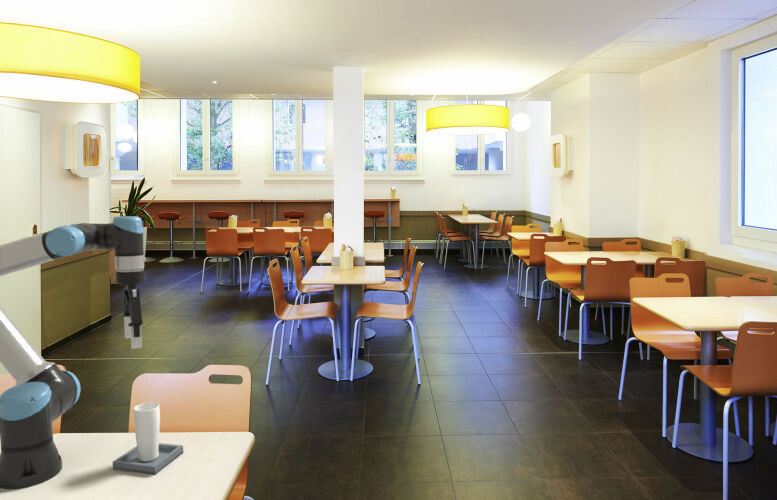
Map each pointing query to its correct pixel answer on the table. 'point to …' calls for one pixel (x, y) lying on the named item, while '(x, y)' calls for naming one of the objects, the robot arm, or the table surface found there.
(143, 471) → the grey tray
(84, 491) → the table surface
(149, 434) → the white cup
